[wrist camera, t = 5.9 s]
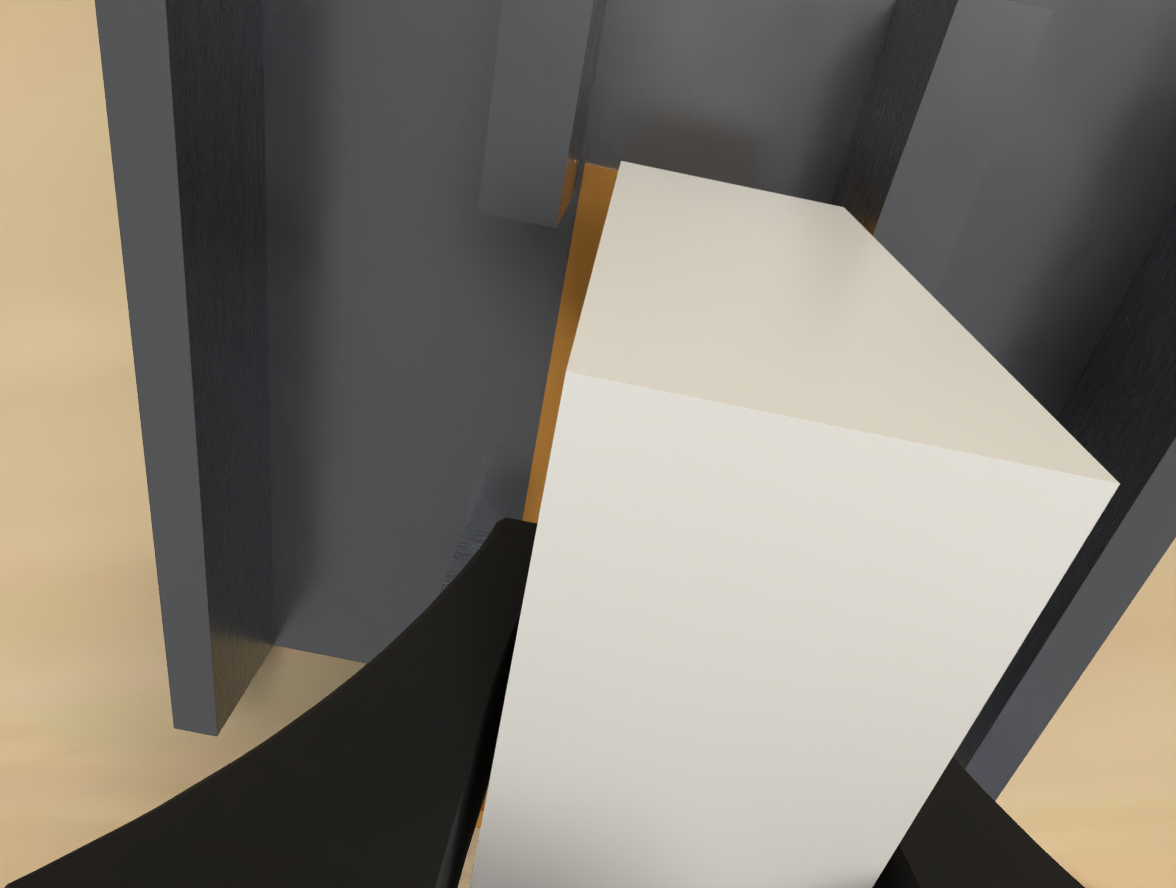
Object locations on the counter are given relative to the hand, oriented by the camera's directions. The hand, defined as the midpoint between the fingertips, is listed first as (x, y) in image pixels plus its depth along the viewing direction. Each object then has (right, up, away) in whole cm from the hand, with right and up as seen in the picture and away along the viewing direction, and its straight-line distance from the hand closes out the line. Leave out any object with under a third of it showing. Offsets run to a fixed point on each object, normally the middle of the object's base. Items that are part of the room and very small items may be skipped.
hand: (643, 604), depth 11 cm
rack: (+1, +4, +7) cm, 7 cm away
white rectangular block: (0, +1, +2) cm, 2 cm away
